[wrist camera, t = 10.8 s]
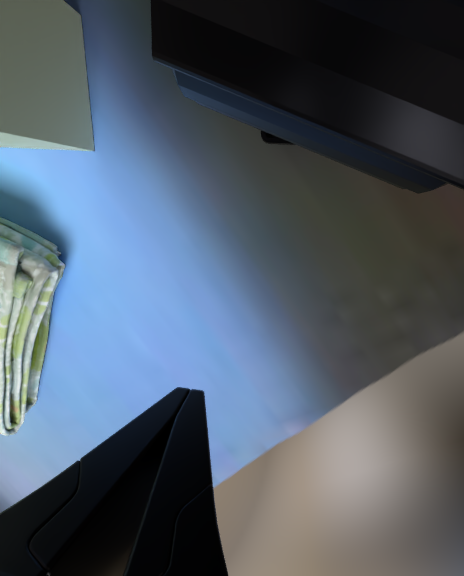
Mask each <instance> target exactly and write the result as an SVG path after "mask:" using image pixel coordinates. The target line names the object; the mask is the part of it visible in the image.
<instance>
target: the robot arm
mask: <svg viewBox="0 0 464 576" xmlns="http://www.w3.org/2000/svg"><path fill="white" fill-rule="evenodd" d="M151 28H152V56H153V60H154V61H155V62H157V63H160V64H162V65H165V66H167V67H169V68H172V70H173V74H174V76H175V79H176V81H177V84H178V86H179V88H180V89H181V91H182V93H183V95H184V96H185V97H187V98H190V99H192V100H194V101H196V102H197V103H198V104H200V105H202V106H204V107H207V108H209V109H212V110H214V111H216V112H219V113H221V114H224V115H226V116H228V117H231V118H233V119H236V120H238V121H240V122H243V123H245V124H248V125H250V126H252V127H255V128H257V129H260V130H261V137H262V139H263V141H264V142H265V143H268V144H287V145H298V146H301V147H303V148H305V149H308V150H310V151H313V152H315V153H317V154H320V155H322V156H325V157H327V158H329V159H332V160H334V161H337V162H339V163H341V164H344V165H346V166H349V167H351V168H353V169H356V170H358V171H361V172H363V173H365V174H368V175H370V176H373V177H375V178H377V179H380V180H382V181H385V182H387V183H389V184H392V185H394V186H397V187H399V188H401V189H408V190H411V191H413V192H415V193H418V194H419V193H423V192H427V191H431V190H434V189H437V188H439V187H441V186H444V185H446V184H448V183H449V184H451V185H454V186H456V187H458V188H461V189H463V190H464V0H151ZM266 132H267V133H269V134H272V135H274V136H273V137H272V138H267V136H266ZM0 576H228V572H227V567H226V563H225V559H224V554H223V550H222V545H221V540H220V534H219V529H218V525H217V517H216V509H215V502H214V491H213V482H212V471H211V460H210V450H209V439H208V428H207V417H206V407H205V396H204V391H202V390H196V389H192V390H190V389H189V388H182V387H177V388H176V389H174V390H173V391H172V392H170V393H169V394H167V395H166V396H165V397H163V398H162V399H161V400H159V401H158V402H157V403H155V404H154V405H153V406H151V407H150V408H148V409H147V410H146V411H144V412H143V413H142V414H140V415H139V416H138V417H136V418H135V419H134V420H132V421H131V422H129V423H128V424H127V425H125V426H124V427H123V428H121V429H120V430H119V431H117V432H116V433H115V434H113V435H112V436H111V437H109V438H108V439H106V440H105V441H104V442H102V443H101V444H100V445H98V446H97V447H96V448H94V449H93V450H92V451H90V452H89V453H87V454H86V455H85V456H83V457H82V458H81V459H80V461H76V462H75V463H74V464H72V465H71V466H70V467H68V468H67V469H66V470H64V471H63V472H61V473H60V474H59V475H57V476H56V477H54V478H53V479H52V480H50V481H49V482H47V483H46V484H44V485H43V486H42V487H40V488H39V489H37V490H35V491H34V492H32V493H31V494H29V495H28V496H26V497H25V498H23V499H22V500H20V501H19V502H17V503H16V504H14V505H12V506H11V507H9V508H8V509H6V510H5V511H3V512H1V513H0Z"/></svg>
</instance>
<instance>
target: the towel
mask: <svg viewBox="0 0 464 576" xmlns="http://www.w3.org/2000/svg"><path fill="white" fill-rule="evenodd" d="M59 255H61V253H60V252H59V251H58V248H57V246H56V245H55V244H53V243H52V242H50V241H48V240H46V239H44V238H42V237H41V236H39V235H37V234H35V233H33V232H32V231H30V230H28V229H26V228H23V227H21V226H19V225H17V224H15V223H13V222H11V221H8V220H6V219H4V218H1V217H0V434H3V435H6V436H9V435H13V434H16V433H17V431H18V429H19V427H20V426H21V425H22V424H23V422H24V418H25V413H27V412H28V411H29V409H30V408H31V407H32V406H34V405H35V404H36V401H37V394H38V387H39V380H40V375H41V370H42V365H43V361H44V355H45V350H46V345H47V339H48V331H49V319H50V313H51V308H52V302H53V295H54V291H55V289H56V287H57V285H58V283H59V281H60V280H61V278H62V275H63V270H64V268H65V264H64V263H63V262H62V261H60V260H59V259H58V256H59Z"/></svg>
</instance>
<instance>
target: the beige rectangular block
mask: <svg viewBox="0 0 464 576" xmlns="http://www.w3.org/2000/svg"><path fill="white" fill-rule="evenodd" d="M0 147H4V148H29V149H54V150H78V151H95V150H94V140H93V130H92V120H91V110H90V100H89V90H88V80H87V70H86V60H85V50H84V40H83V30H82V20H81V15H80V14H79V13H78V12H76V11H75V10H74V9H73V8H72V7H71V6H70V5H68V4H67V3H66V2H65V1H64V0H0Z"/></svg>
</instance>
